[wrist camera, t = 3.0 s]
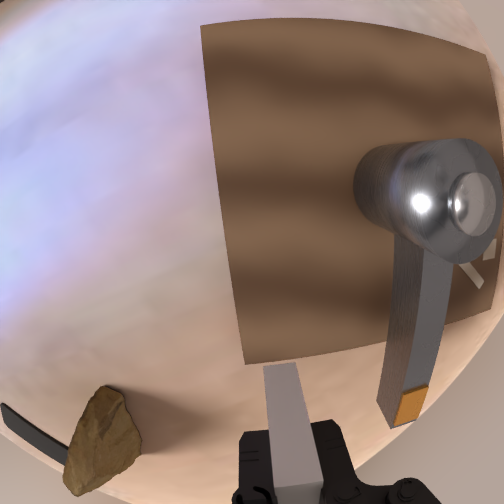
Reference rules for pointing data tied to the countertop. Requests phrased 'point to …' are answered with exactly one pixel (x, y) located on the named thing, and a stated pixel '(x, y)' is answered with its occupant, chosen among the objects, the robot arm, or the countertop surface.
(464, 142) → the grey mallet
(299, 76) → the base board
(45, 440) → the phone
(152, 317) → the countertop surface
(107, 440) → the rock
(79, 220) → the countertop surface
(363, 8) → the countertop surface
